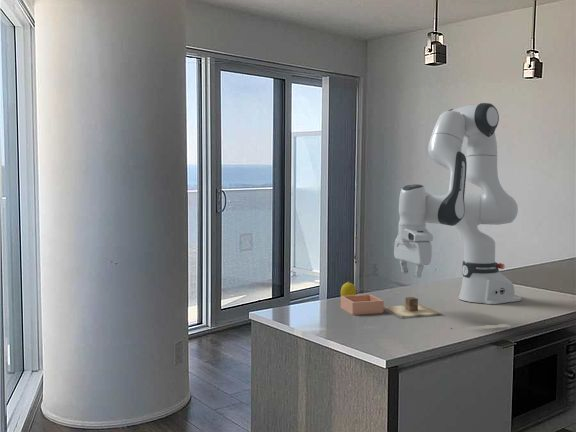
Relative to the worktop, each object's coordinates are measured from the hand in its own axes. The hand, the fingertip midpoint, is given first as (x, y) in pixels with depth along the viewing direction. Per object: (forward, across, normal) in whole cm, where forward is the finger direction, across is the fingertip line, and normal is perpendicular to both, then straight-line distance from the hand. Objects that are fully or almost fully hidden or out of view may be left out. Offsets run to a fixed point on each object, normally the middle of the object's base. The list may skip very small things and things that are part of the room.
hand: (411, 275), depth 207 cm
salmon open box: (+13, -8, -14) cm, 21 cm away
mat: (+13, 0, +1) cm, 13 cm away
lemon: (+13, -22, -13) cm, 29 cm away
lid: (+12, 0, +1) cm, 12 cm away
